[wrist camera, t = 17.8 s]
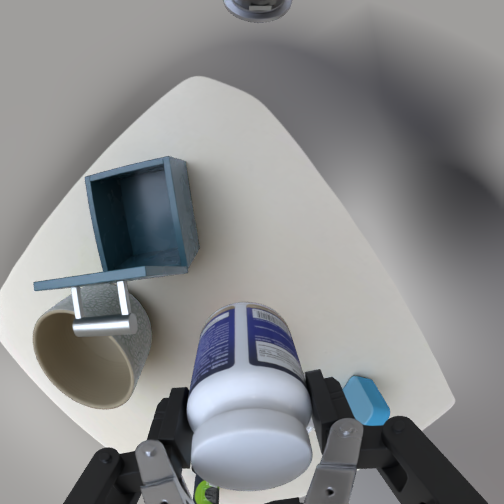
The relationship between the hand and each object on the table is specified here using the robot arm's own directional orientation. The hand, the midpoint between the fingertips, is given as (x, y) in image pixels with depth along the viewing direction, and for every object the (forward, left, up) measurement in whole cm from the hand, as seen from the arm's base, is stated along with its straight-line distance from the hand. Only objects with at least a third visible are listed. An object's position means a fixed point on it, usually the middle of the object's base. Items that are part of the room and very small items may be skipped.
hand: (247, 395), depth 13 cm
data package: (+35, +17, -34) cm, 52 cm away
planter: (+10, -24, -34) cm, 43 cm away
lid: (-3, -12, -16) cm, 20 cm away
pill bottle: (0, 0, -6) cm, 6 cm away
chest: (-7, -12, -34) cm, 37 cm away
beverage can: (+59, -18, -34) cm, 71 cm away
